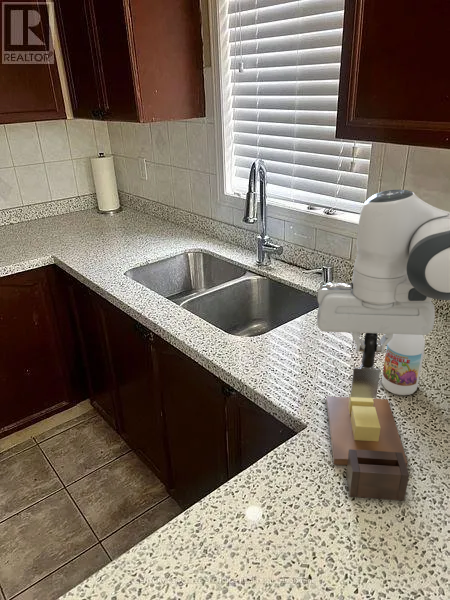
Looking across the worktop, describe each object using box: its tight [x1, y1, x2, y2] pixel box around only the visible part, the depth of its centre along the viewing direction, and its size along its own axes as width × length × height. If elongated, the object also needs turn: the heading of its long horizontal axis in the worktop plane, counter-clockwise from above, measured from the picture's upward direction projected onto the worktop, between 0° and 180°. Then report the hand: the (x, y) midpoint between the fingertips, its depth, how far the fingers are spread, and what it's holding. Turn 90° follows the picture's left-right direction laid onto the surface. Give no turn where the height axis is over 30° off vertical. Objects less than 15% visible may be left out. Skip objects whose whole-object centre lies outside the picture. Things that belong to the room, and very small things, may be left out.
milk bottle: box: [381, 334, 426, 396], centre depth 98 cm, size 8×8×20 cm
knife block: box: [345, 449, 410, 502], centre depth 77 cm, size 9×5×6 cm, turn 83°
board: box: [325, 395, 409, 467], centre depth 90 cm, size 13×18×2 cm
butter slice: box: [348, 393, 374, 414], centre depth 93 cm, size 4×2×4 cm, turn 83°
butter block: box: [351, 406, 380, 441], centre depth 88 cm, size 4×6×4 cm
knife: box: [349, 333, 381, 399], centre depth 86 cm, size 5×2×16 cm, turn 83°
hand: (369, 350), depth 84 cm, fingers closed on knife, 2 cm apart
